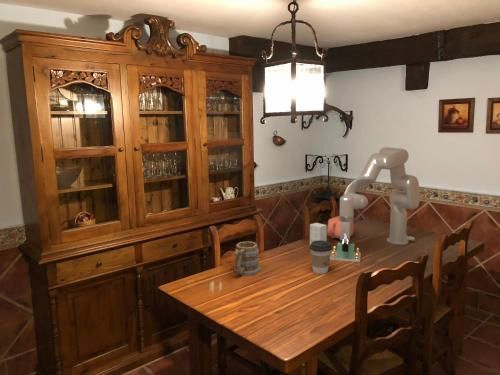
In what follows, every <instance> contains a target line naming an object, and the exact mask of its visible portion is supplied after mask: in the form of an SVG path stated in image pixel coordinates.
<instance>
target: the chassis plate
mask: <svg viewBox="0 0 500 375" xmlns="http://www.w3.org/2000/svg"><path fill="white" fill-rule="evenodd" d="M361 256H362V253H361V252H360V247H356V248H355V251H354V257H346V256H337V245H333V246H332V250H331V253H330V260H329V261H345V262H355V263H360V262H361Z"/></svg>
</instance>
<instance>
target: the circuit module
mask: <svg viewBox="0 0 500 375" xmlns="http://www.w3.org/2000/svg"><path fill="white" fill-rule="evenodd" d="M342 244H343V242H337V245H336V251H337V256H346V257H354V252H355V245H356V244H355V243H350V242H349V243H348V252H343V251H342Z"/></svg>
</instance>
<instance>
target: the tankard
mask: <svg viewBox="0 0 500 375" xmlns="http://www.w3.org/2000/svg"><path fill="white" fill-rule="evenodd" d="M233 254H234V256H235V260H234V263H236V266H234V267H233V271H234V270H235V271H234V272H235V273H236V275H240V274H241V275H242V276H246V275H247V276H251V275H252V276H253V274H254V275H257V274H258V273H259V272H260V271H261V266H259V263H260V258H259V257H258V255H259V254H260V249H259V248H258V243H256V242H255V241H249V240H248V241H240V242H238V243H237V244H235V249H234V253H233ZM241 275H240V276H241Z"/></svg>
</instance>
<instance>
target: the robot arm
mask: <svg viewBox="0 0 500 375" xmlns="http://www.w3.org/2000/svg"><path fill="white" fill-rule="evenodd" d="M408 160H409V151H407V149H404V148H399V147H397V148H396V147H389V146H388V147H382V148H380V150H379V152H375V153H372V154H371V155H370V157H369V158H368V160H367V162H366V164H365V166H364V168H363V170H362V171H361V174H360V175H359V176H358V177H356V178H355V179H354V180H352V181H351V182H350V183H349V184H348V186H347V187H346V189H345V191H344V193H343V195H342V196H340V198H339V215H338V216H339V221H340V222H341V236H340V239H339V241H340V240H343V241H342V243H343V244H342V251H343V252H348V243H350V239H351V236H350V234H351V223H352V222H353V223H354V218H355V214H354V213H355V212H354V211H355V209H356V210H357V209H358V210H359V209H364V208H366V207H367V206H368V204H369V200H368V198H367V197H366V195H364V194H358V193H357V192H358V191H359V190H360V189H361V188H363V187H366V186H369V185H371V184H374V183H375V182H376V181H377V179H378V177H379V174H380V172H381V171H382V170H388V171H389V176H390V185H391V187H392V188H393V189H395V190H393V191H392V192H391V193H390V194H389V197H388V198H389V205H390V222H389V223H390V224H389V237H387V238H386V242H387V243H389V244H392V245H397V246H398V245H399V246H400V245H401V246H402V245H408V244H409V241H415V237H414V236H412V235H411V236H410V235H409V236H408V235H407V227H408V224H407V223H408V212H407V209H409V210H416V209H417V208H418V207H419V206H420V202H421V199H420V198H421V197H420V194H421V193H420V184H419V183H420V182H419V179H418V178H417V177H416V176H414V175H413V174H407V173H406V168H405V164H406V163H407V161H408Z"/></svg>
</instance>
